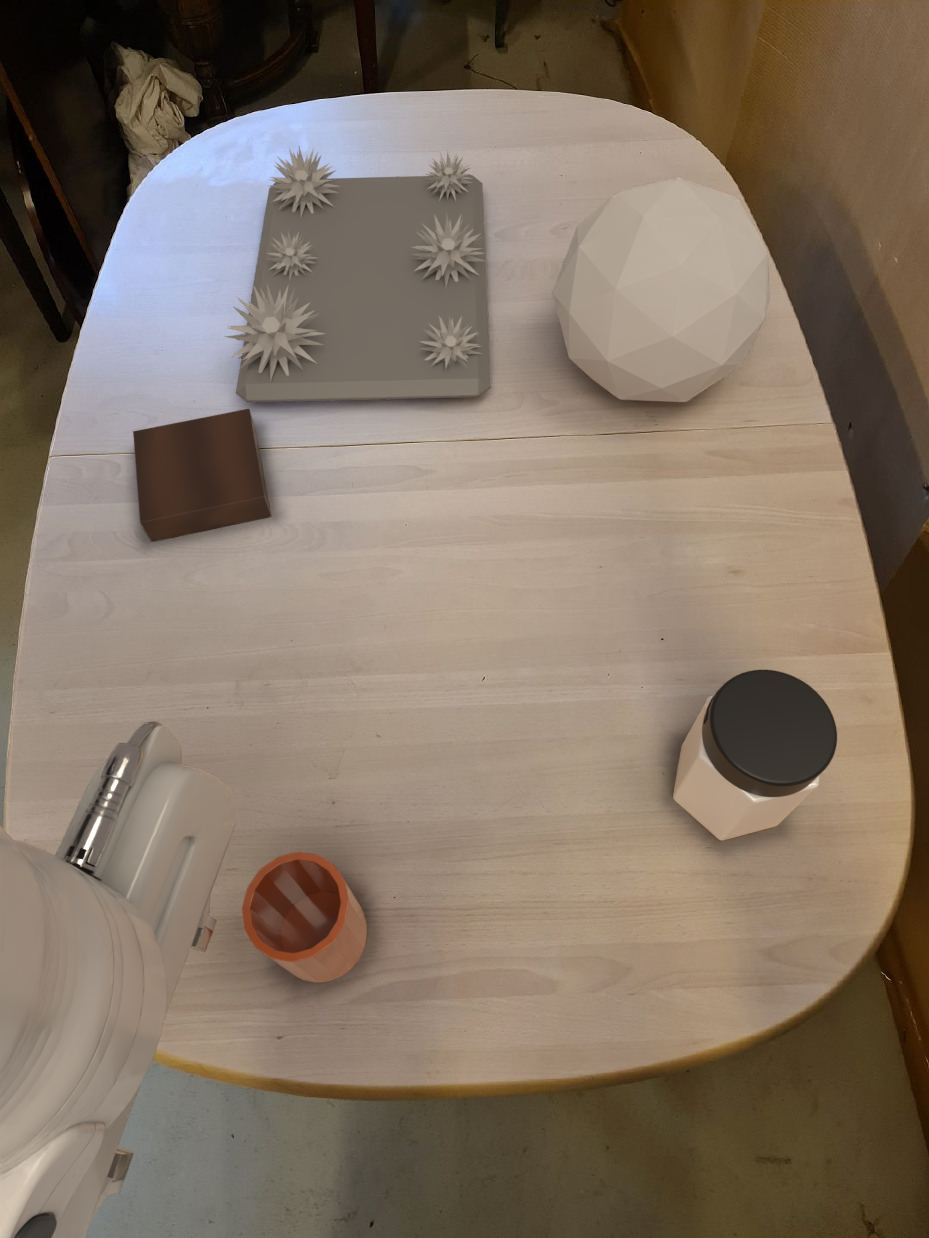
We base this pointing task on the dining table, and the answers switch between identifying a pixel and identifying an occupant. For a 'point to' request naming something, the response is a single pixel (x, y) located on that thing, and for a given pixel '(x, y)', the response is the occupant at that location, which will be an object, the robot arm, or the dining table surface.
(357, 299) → the decorative tray
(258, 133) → the dining table surface
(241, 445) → the stand
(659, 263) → the sphere
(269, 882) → the pot
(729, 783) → the jar
